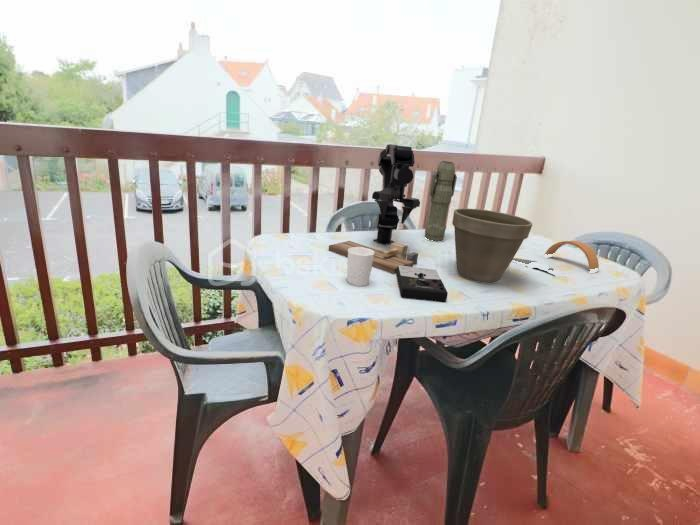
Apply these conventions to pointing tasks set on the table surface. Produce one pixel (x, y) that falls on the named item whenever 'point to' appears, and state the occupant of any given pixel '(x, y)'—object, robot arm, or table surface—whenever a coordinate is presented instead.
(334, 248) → the walnut board
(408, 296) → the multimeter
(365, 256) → the white cup
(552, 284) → the table surface
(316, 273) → the table surface
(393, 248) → the marking gauge
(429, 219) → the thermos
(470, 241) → the plant pot
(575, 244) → the arch
